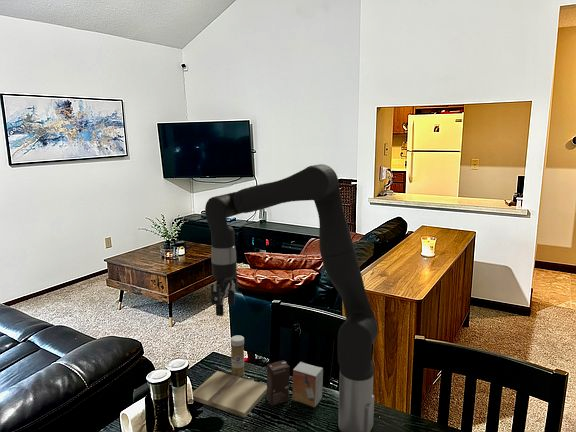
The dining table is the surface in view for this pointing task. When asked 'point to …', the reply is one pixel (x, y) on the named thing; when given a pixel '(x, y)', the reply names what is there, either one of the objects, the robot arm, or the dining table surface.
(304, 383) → the small box
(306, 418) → the dining table surface
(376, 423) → the dining table surface
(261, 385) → the plywood panel
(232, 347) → the sprinkles bottle
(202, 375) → the dining table surface
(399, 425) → the dining table surface
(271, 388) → the box
